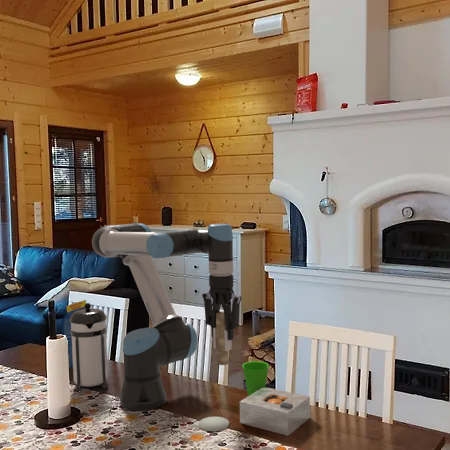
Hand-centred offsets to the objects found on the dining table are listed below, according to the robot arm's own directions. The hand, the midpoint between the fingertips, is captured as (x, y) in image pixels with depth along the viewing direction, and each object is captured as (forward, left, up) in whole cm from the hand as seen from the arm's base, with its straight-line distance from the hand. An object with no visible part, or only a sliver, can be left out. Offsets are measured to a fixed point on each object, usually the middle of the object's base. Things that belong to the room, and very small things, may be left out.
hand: (222, 348), depth 172 cm
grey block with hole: (+17, +2, -20) cm, 26 cm away
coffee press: (-55, -6, -20) cm, 59 cm away
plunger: (+17, +2, -16) cm, 24 cm away
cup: (+3, +14, -20) cm, 25 cm away
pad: (+3, -10, -20) cm, 22 cm away
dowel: (0, 0, -5) cm, 5 cm away
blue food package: (-77, +8, -20) cm, 80 cm away
